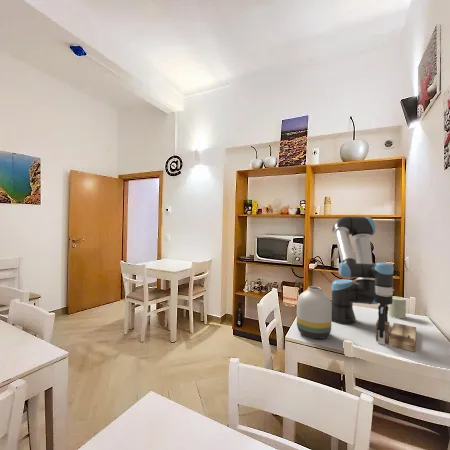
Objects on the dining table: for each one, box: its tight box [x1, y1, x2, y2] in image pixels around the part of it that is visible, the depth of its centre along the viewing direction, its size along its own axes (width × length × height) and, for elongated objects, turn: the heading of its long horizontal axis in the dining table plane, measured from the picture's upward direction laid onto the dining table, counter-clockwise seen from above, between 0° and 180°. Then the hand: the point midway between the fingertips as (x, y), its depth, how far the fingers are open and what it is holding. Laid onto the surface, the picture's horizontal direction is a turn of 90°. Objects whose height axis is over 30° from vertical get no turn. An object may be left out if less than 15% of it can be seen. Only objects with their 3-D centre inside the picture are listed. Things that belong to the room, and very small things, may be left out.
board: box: [388, 322, 417, 352], centre depth 132 cm, size 10×28×3 cm, turn 143°
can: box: [388, 295, 407, 319], centre depth 164 cm, size 9×9×12 cm
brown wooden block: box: [375, 319, 414, 345], centre depth 126 cm, size 15×5×9 cm, turn 53°
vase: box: [296, 285, 333, 340], centre depth 135 cm, size 17×17×24 cm
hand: (382, 340), depth 129 cm, fingers open, 9 cm apart
